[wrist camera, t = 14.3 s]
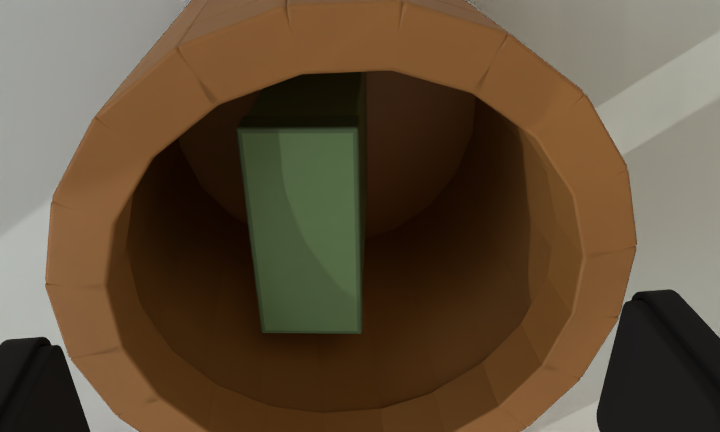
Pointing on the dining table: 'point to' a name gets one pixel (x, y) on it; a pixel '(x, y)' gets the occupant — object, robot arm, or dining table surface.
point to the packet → (307, 201)
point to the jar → (382, 230)
